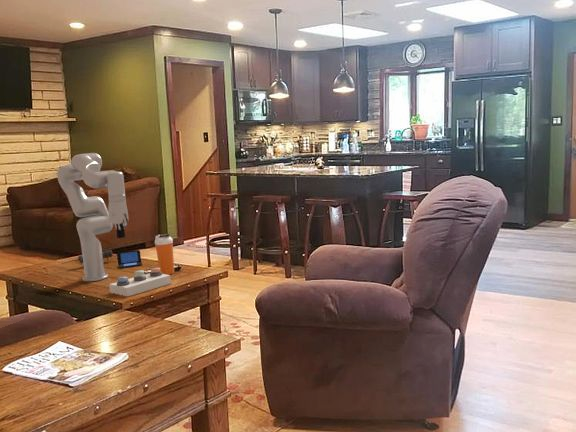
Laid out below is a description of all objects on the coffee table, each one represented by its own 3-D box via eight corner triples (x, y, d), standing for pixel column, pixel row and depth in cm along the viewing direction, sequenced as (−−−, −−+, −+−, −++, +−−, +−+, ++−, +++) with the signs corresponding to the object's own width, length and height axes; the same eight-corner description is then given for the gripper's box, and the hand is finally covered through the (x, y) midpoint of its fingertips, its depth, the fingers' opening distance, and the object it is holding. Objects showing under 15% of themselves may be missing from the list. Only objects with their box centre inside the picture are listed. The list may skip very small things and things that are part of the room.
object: (118, 269, 326) (117, 256, 325) (118, 265, 337) (116, 252, 335) (142, 266, 330) (141, 252, 329) (141, 262, 340) (139, 249, 339)
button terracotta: (149, 272, 287) (148, 269, 287) (156, 270, 290) (156, 267, 290) (154, 273, 284) (154, 270, 284) (162, 271, 287) (162, 268, 287)
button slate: (116, 281, 274) (115, 278, 274) (124, 279, 277) (124, 275, 277) (121, 282, 271) (121, 279, 271) (129, 280, 274) (129, 277, 274)
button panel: (110, 292, 277) (108, 281, 277) (153, 280, 295) (152, 269, 294) (127, 296, 268) (126, 285, 267) (171, 283, 286) (170, 272, 285)
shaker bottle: (174, 274, 302) (169, 235, 299) (156, 276, 303) (152, 236, 300) (177, 270, 311) (173, 232, 308) (160, 271, 312) (156, 233, 309)
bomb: (111, 240, 349) (58, 249, 331) (118, 250, 343) (65, 260, 325) (109, 255, 355) (57, 265, 337) (116, 265, 349) (64, 276, 330)
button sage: (132, 275, 280) (132, 271, 280) (140, 273, 284) (140, 269, 283) (138, 276, 277) (137, 272, 277) (146, 274, 281) (145, 270, 280)
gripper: (101, 198, 282) (105, 237, 285) (118, 201, 271) (122, 241, 275) (115, 196, 287) (119, 234, 290) (133, 198, 277) (137, 237, 280)
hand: (121, 237), depth 282 cm, fingers closed
